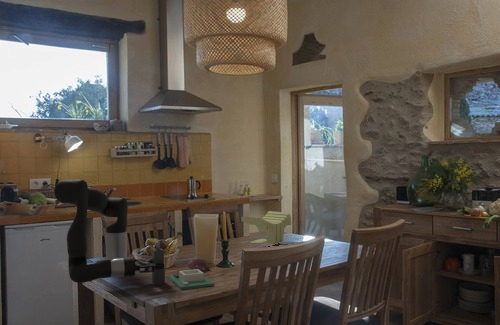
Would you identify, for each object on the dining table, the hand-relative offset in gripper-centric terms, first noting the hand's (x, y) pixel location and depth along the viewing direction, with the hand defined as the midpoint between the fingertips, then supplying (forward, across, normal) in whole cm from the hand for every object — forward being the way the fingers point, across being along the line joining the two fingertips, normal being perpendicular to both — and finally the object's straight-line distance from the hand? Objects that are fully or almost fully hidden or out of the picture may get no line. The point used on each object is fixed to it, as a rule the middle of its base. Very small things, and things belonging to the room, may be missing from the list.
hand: (161, 263), depth 198 cm
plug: (-2, 0, +8) cm, 8 cm away
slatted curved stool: (+76, +57, +8) cm, 96 cm away
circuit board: (+11, -3, +8) cm, 14 cm away
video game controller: (+20, +13, +8) cm, 25 cm away
